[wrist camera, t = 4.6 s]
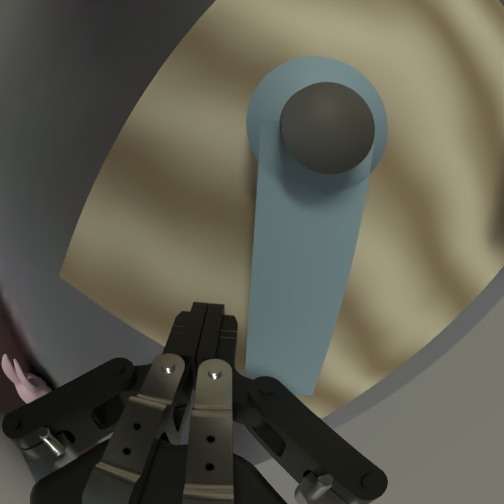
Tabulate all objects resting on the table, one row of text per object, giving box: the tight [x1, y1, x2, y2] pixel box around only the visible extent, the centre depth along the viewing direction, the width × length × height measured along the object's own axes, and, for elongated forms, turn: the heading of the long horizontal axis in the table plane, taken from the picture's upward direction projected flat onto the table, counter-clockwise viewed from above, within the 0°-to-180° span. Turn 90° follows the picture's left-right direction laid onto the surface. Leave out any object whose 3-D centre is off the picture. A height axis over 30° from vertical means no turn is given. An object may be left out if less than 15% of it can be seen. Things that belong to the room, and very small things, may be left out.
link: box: [245, 56, 388, 395], centre depth 13 cm, size 16×5×2 cm, turn 177°
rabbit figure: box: [2, 354, 52, 404], centre depth 22 cm, size 6×6×15 cm
